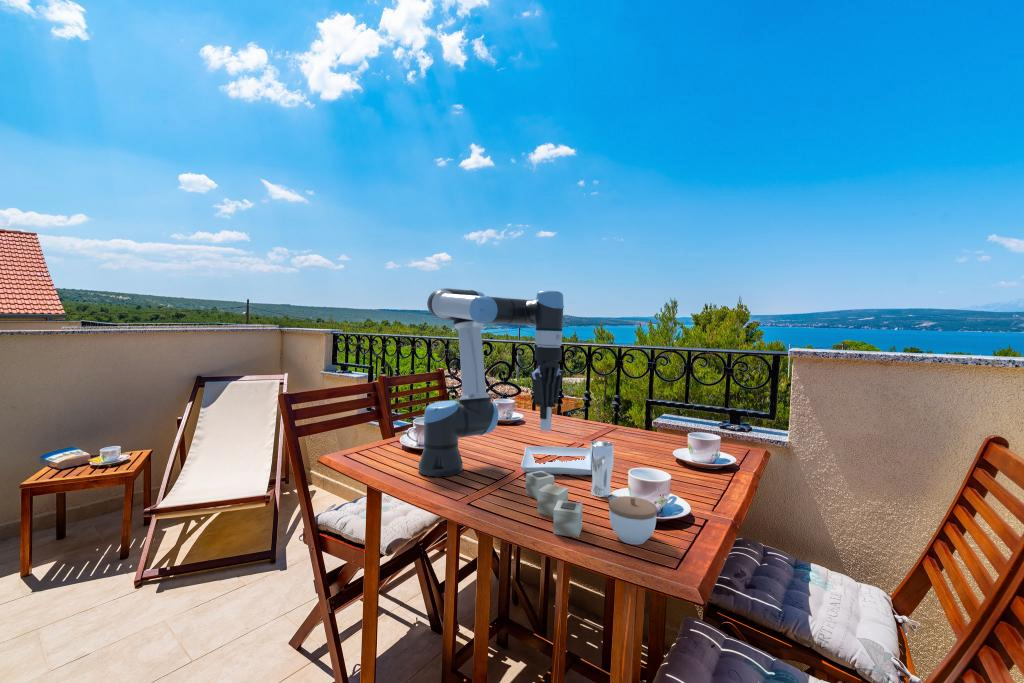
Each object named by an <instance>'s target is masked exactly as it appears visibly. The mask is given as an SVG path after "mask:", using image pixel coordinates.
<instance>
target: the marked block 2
mask: <svg viewBox="0 0 1024 683" xmlns="http://www.w3.org/2000/svg"><path fill="white" fill-rule="evenodd" d="M552 518H553V523H552V525H553V532H552V534H553V535H558V536H563V537H564V536H565V537H570V536H572V537H571V538H576V537H578V539H579V538H580V536H579V535H581V533H582V528H583V503H582V502H577V501H576V502H574V501H569V500H568V501H561V500H558V502H557V504H556V506H555V508H554V515H553V517H552Z"/></svg>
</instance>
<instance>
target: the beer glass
mask: <svg viewBox="0 0 1024 683" xmlns="http://www.w3.org/2000/svg"><path fill="white" fill-rule="evenodd" d="M589 448H590V467H591V473H592V475H591V482H592V483H591V490H590V495H591V496H593V495H594V496H593V497H596V496H597V497H596V498H600V497H607V496H608V495H609V494H610V493H612V487H611V480H612V474H613V469H614V461H615V460H614V458H615V457H614V456H615V455H614V452H615V451H614V443H612V442H610V441H605V440H593V441H591V442H590V447H589ZM607 498H608V497H607Z"/></svg>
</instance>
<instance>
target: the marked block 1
mask: <svg viewBox="0 0 1024 683" xmlns="http://www.w3.org/2000/svg"><path fill="white" fill-rule="evenodd" d="M547 484H552V485H555V476H554V474H548V473H546V472H544V471H537V472H532V473H529V472H526V473H525V494H527V495H528V494H529V495H528V496H530V497H531V498H533V497H534V499H535V500H537V501H538V490H539V489H541V488H542V487H544V486H545V485H547Z"/></svg>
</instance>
